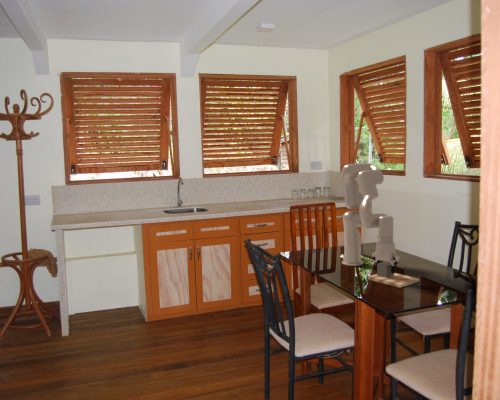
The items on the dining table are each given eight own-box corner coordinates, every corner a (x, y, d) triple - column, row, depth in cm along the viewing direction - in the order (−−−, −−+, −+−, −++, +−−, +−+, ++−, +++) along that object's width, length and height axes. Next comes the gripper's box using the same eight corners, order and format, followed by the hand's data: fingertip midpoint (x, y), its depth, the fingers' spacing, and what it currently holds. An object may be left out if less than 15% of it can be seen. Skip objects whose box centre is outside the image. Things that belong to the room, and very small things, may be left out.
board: (367, 279, 255) (368, 267, 254) (387, 273, 265) (387, 262, 264) (400, 287, 239) (400, 274, 238) (419, 281, 249) (419, 269, 248)
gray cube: (377, 275, 256) (377, 263, 256) (384, 273, 260) (384, 261, 259) (386, 277, 252) (386, 265, 251) (393, 275, 255) (393, 263, 254)
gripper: (368, 238, 258) (368, 269, 260) (395, 242, 244) (395, 275, 246) (377, 236, 262) (377, 267, 264) (404, 240, 249) (404, 273, 250)
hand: (385, 271), depth 255 cm, fingers open, 9 cm apart
